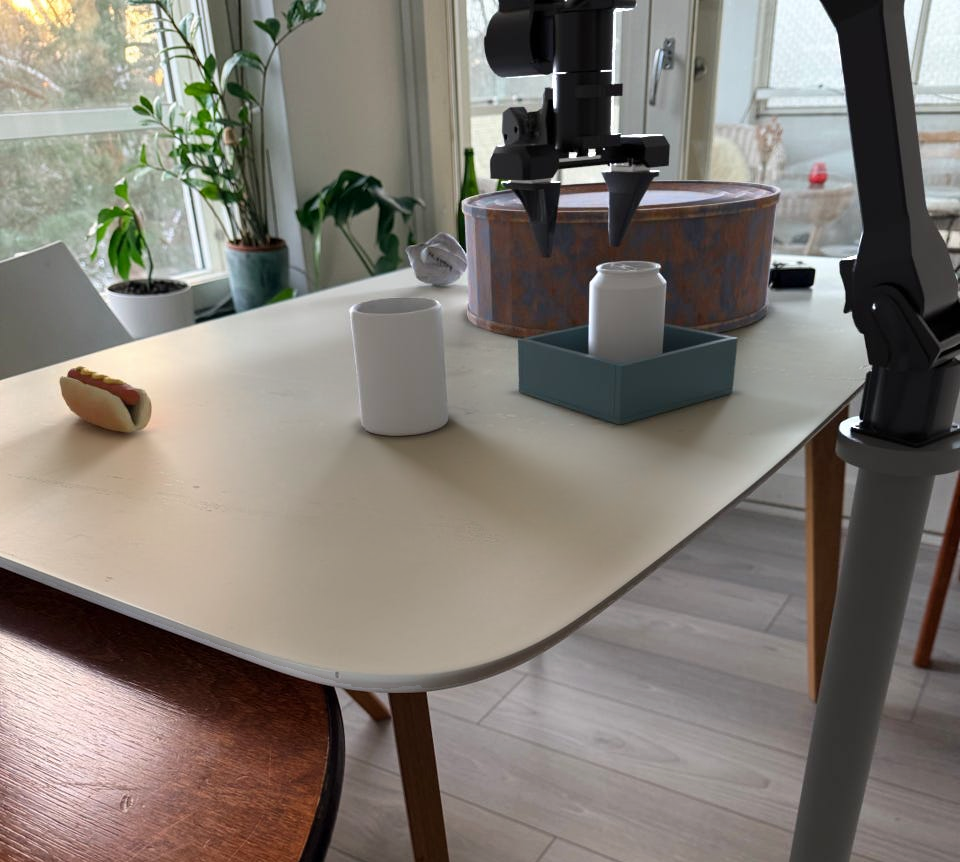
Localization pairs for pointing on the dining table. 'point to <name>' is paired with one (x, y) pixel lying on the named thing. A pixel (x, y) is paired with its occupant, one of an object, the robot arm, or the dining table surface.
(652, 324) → the can
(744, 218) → the container
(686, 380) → the box
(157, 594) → the dining table surface
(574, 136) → the robot arm
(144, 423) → the food
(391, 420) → the mug
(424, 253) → the crumpled paper ball
